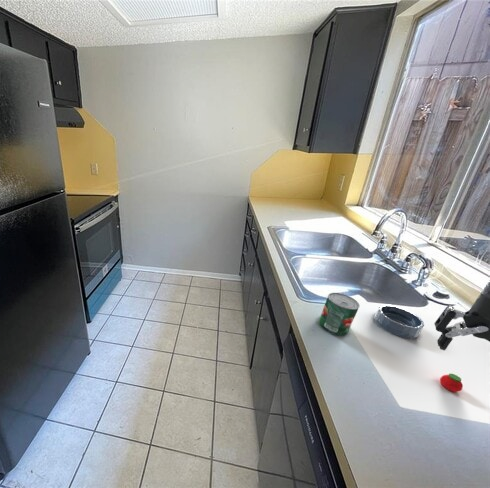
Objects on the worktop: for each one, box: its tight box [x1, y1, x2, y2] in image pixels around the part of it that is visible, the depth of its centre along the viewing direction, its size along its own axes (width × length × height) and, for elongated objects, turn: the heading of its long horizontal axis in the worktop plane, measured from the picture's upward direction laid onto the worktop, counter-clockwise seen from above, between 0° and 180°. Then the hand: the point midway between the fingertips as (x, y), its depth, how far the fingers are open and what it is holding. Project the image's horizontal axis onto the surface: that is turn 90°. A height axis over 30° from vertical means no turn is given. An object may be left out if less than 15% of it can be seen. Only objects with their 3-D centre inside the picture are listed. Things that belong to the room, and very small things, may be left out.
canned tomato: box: [318, 292, 360, 337], centre depth 77 cm, size 8×8×11 cm
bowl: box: [373, 304, 425, 339], centre depth 80 cm, size 11×11×5 cm
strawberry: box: [439, 373, 464, 393], centre depth 61 cm, size 4×4×4 cm
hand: (467, 357), depth 58 cm, fingers open, 8 cm apart
